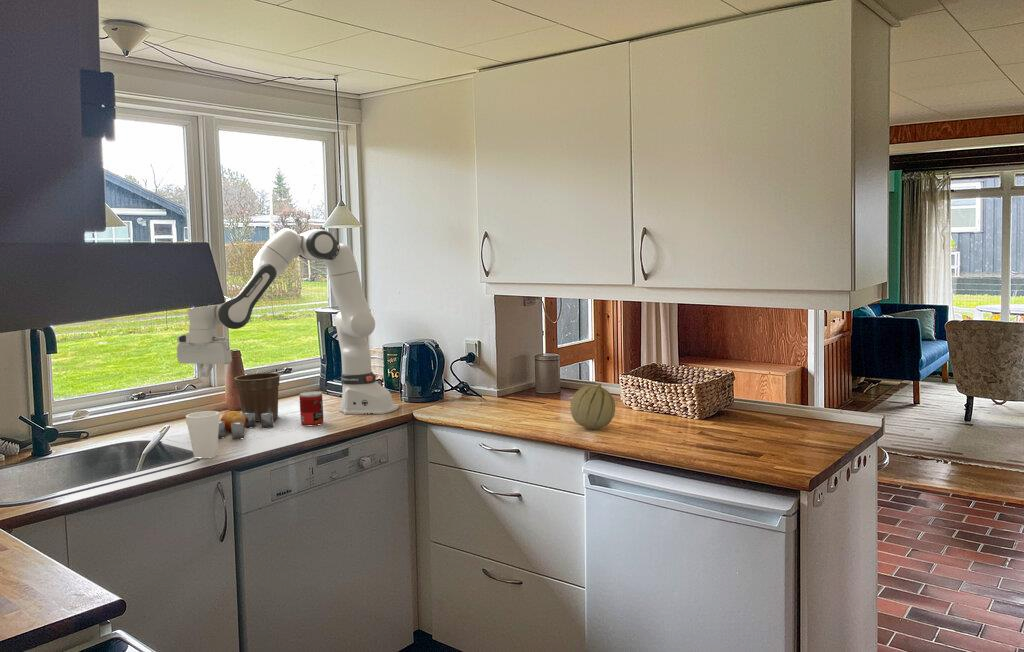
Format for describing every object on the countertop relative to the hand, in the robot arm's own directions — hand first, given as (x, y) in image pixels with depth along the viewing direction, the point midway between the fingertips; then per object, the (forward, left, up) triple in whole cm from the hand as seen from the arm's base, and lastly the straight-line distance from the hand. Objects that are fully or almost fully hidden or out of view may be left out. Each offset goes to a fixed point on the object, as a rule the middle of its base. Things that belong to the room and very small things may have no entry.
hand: (205, 376), depth 270 cm
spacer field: (-11, 0, -19) cm, 22 cm away
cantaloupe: (-130, -28, -19) cm, 134 cm away
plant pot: (-7, -19, -19) cm, 28 cm away
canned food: (-31, -16, -19) cm, 40 cm away
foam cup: (-23, +30, -19) cm, 42 cm away
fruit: (-10, 0, -19) cm, 22 cm away
